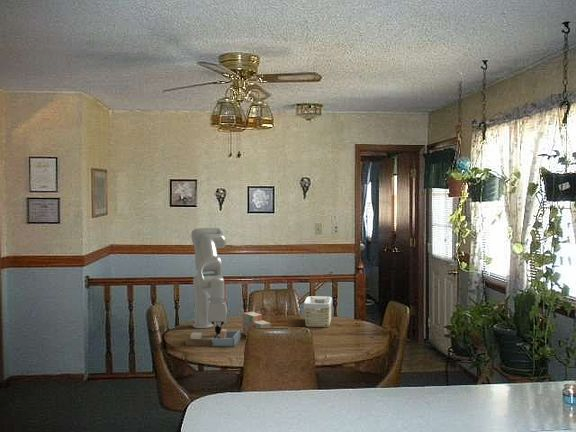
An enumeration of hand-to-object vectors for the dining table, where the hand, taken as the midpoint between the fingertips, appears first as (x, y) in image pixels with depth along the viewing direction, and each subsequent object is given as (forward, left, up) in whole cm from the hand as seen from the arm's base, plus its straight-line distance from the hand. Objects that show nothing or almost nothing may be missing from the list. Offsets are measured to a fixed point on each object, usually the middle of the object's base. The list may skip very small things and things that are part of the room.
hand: (218, 333), depth 325 cm
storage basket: (-47, +52, -4) cm, 70 cm away
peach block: (0, +2, 0) cm, 2 cm away
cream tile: (+8, -10, -1) cm, 13 cm away
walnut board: (+4, -8, -4) cm, 10 cm away
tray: (+4, +6, -4) cm, 8 cm away
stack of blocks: (-10, +19, -4) cm, 22 cm away
